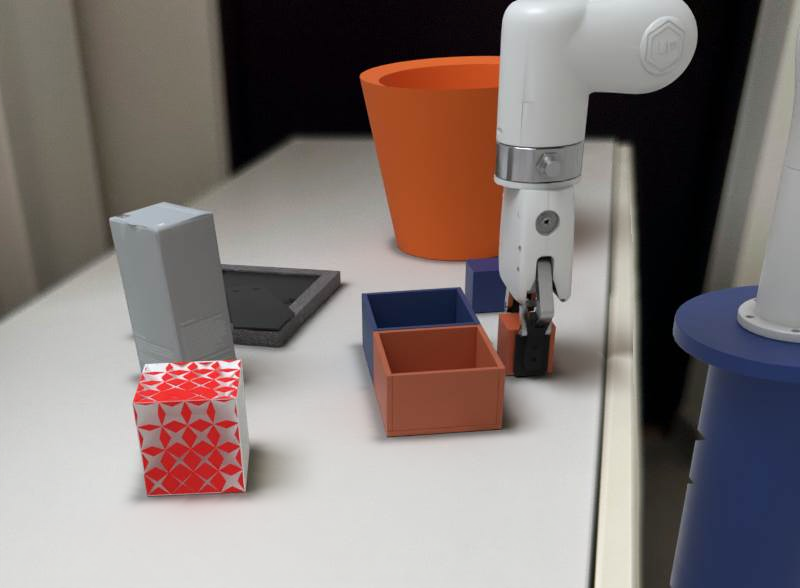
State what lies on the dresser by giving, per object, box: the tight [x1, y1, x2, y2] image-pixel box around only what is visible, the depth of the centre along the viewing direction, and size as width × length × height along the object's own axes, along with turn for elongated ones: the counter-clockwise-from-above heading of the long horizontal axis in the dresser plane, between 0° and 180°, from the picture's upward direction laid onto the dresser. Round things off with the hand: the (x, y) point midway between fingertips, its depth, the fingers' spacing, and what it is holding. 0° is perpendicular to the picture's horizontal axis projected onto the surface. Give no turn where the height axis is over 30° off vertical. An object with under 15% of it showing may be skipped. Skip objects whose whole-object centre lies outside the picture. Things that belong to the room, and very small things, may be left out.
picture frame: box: [221, 263, 342, 348], centre depth 119 cm, size 16×2×21 cm
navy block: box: [464, 257, 506, 314], centre depth 116 cm, size 4×4×4 cm
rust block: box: [496, 312, 557, 376], centre depth 101 cm, size 4×4×4 cm
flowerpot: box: [359, 55, 504, 261], centre depth 131 cm, size 25×25×20 cm
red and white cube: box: [132, 359, 251, 497], centre depth 85 cm, size 8×8×8 cm
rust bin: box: [373, 323, 506, 438], centre depth 94 cm, size 10×11×6 cm
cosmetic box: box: [108, 201, 237, 375], centre depth 99 cm, size 8×7×16 cm
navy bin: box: [361, 286, 482, 388], centre depth 103 cm, size 10×11×6 cm
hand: (523, 361), depth 102 cm, fingers closed on rust block, 4 cm apart
